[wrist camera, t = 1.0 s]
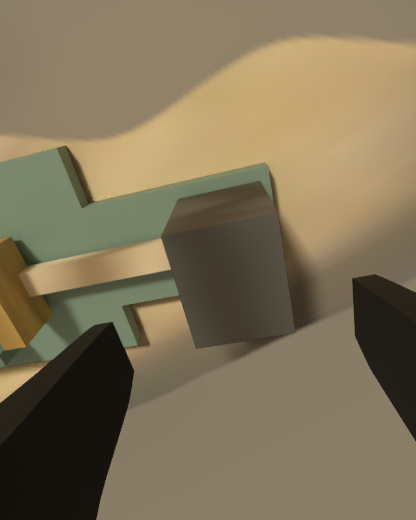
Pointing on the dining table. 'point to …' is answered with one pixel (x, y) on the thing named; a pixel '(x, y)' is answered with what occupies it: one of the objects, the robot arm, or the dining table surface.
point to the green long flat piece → (90, 242)
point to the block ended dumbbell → (174, 271)
